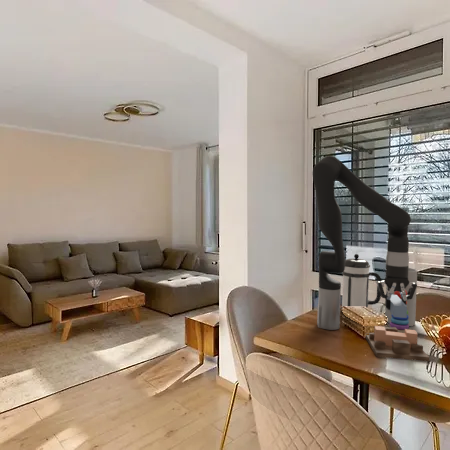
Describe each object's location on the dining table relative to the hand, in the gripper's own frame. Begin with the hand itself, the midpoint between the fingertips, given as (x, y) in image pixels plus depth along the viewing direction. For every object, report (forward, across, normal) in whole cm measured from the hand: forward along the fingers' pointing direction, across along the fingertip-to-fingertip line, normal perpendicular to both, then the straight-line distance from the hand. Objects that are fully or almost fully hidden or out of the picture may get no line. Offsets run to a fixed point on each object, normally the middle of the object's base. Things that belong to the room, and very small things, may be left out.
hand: (395, 309), depth 132 cm
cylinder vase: (+16, +13, +34) cm, 40 cm away
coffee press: (+16, -4, +46) cm, 48 cm away
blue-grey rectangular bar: (0, 0, 0) cm, 0 cm away
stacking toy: (+16, +8, +20) cm, 27 cm away
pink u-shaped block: (+13, 0, 0) cm, 13 cm away
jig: (+15, 0, 0) cm, 15 cm away
